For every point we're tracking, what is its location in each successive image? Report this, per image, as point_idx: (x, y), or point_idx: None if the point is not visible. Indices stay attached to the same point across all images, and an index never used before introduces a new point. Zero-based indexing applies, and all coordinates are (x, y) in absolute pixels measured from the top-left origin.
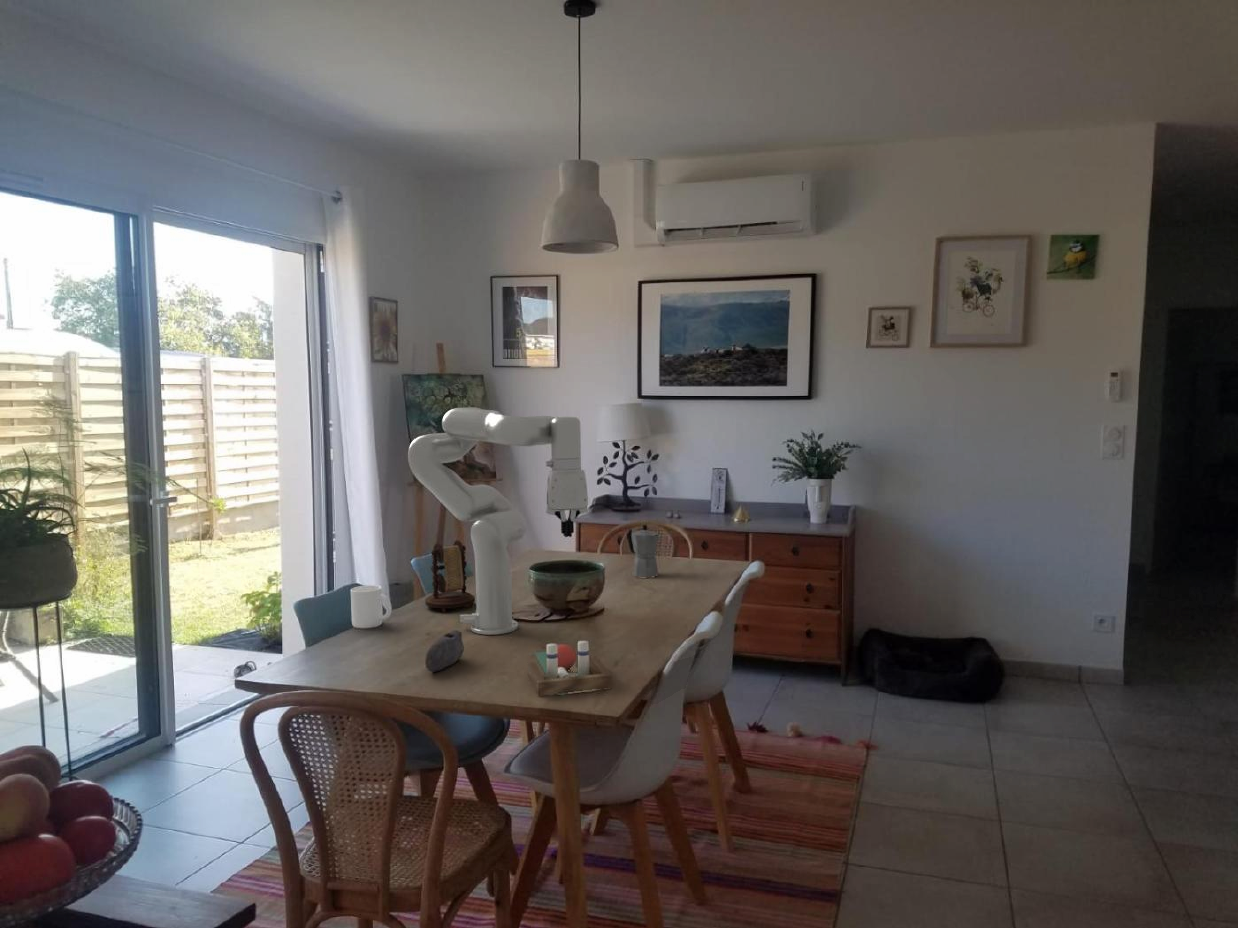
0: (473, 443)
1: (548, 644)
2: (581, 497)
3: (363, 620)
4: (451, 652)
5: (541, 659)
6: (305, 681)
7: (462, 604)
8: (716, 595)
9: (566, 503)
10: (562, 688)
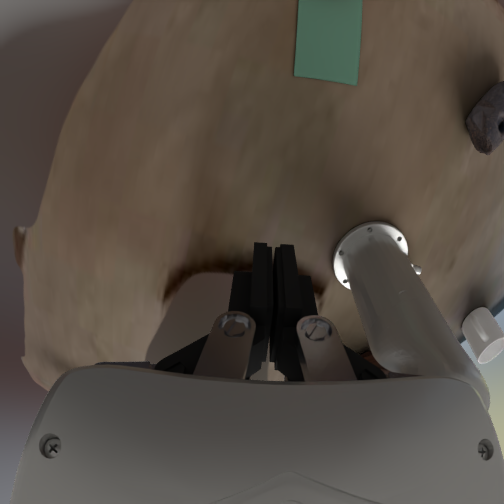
0: None
1: None
2: (80, 491)
3: (488, 312)
4: (493, 95)
5: (354, 44)
6: None
7: (371, 352)
8: (25, 294)
9: (332, 450)
10: None
